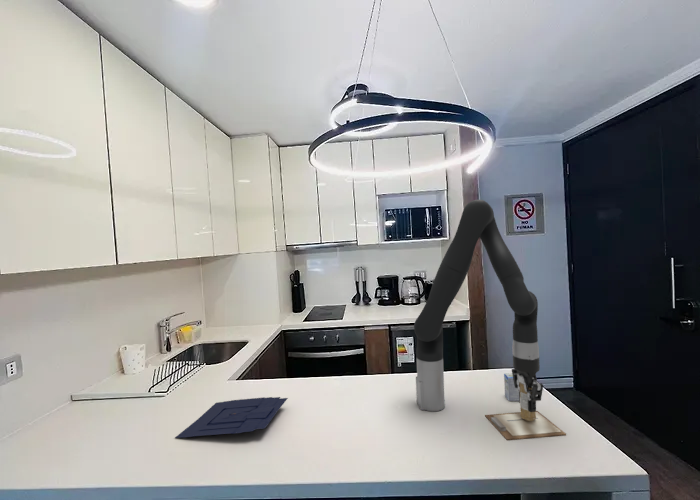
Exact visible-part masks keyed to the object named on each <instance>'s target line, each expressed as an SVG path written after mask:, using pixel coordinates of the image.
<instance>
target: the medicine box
mask: <svg viewBox="0 0 700 500" xmlns="http://www.w3.org/2000/svg"><path fill="white" fill-rule="evenodd" d="M503 380H504V381H503V382H504V385H503V386H504V397H505V398H506V399H507V401H508V402H519V392H518V390H517V388H515V386H514V380H513V375H512V372H510V373H503Z"/></svg>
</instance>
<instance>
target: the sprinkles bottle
mask: <svg viewBox="0 0 700 500" xmlns="http://www.w3.org/2000/svg"><path fill="white" fill-rule="evenodd" d="M522 377H523V376H522V375H521V376H519V383H520V403H519V406H520V412H521V414H520V416H521V417H522V418H523V419H525V420H529V421H533V420H535V419H536V412H529V411H528V397H527V392H525V389H524V383H523V381H522ZM528 389H532V388H528ZM531 394H532V392H531V393H530V395H531Z"/></svg>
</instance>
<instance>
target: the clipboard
mask: <svg viewBox="0 0 700 500" xmlns="http://www.w3.org/2000/svg"><path fill="white" fill-rule="evenodd" d="M535 412H536V419H535V420H533V421H529V420H525V419H523V418H522V417H521V416H520V414H521V411H519V412H518V411H517V412H508V413H507V412H505V413H493V414H485V415H484V417H485V418H486V419H487V420H488V421H489V422H490V423H491V425H493V427H494V428H495V429H496V430H497V431H498V432H499V433H500V434H501V435H502V436H503V438H504V439H505V440H506V441H513V440H514V441H515V440H528V439H539V438H548V437H549V438H551V437H563V436H567V433H566V432H564V431H563V430H562V429H561V428H559V427H558V426H557V425H556V424H554V423H553V422H552V421H551V420H549V419H548V418H547V417H546V416H544V414H543V413H540V412H539V411H538V410H536V411H535Z"/></svg>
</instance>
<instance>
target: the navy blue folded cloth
mask: <svg viewBox="0 0 700 500" xmlns="http://www.w3.org/2000/svg"><path fill="white" fill-rule="evenodd" d="M288 399H289V397H283V398H282V397H280V396H277V397H273V396H271V397H269V396H268V397H255V398H254V397H253V398H244V399H242V398H241V399H233V400H232V399H231V400H226V401H219V402H215V403H214V404H212V406H211V407H209V409H208V410H207V411H205V412H204V413H203V414H202V415H201V416H200V417H198V418H197V419H196V420H195V421H194V422H193V423H191V424H190V425H189V426H187V427H186V428H185V429H184V430H182V431H181V432H180V433H179V434H178V435H176V436H175V437H174V438H175V439H176V438H179V439H180V438H191V437H192V438H193V437H200V436H212V435H213V436H216V435H224V434H225V435H226V434H227V435H228V434H230V435H233V434H242V433H247V432H248V433H249V432H254V431H255V430H263V429H266V427H268V425H269V424H270V422H271V421H272V420H273V418H274V416H276V414H277V413H278V412H279V410H280V409H281V407H283V405H284V404H285V403H286V401H287V400H288Z"/></svg>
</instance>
